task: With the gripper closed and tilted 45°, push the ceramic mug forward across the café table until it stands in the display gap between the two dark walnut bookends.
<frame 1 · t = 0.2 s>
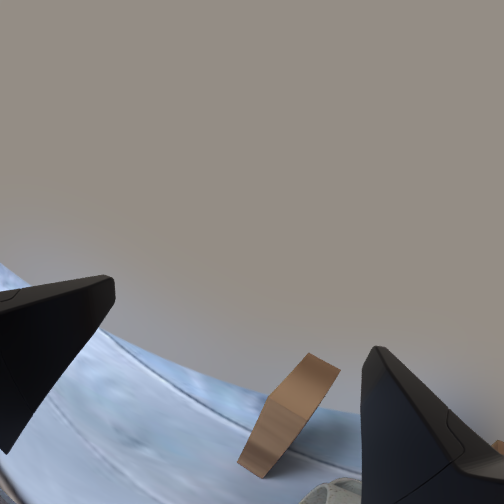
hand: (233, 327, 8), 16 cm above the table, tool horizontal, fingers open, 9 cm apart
walnut bookends: (349, 495, 14), on the table
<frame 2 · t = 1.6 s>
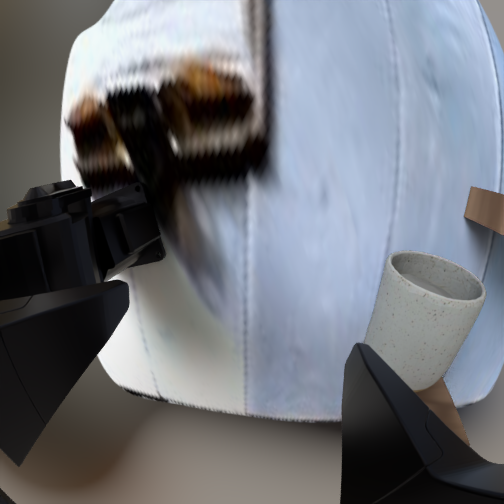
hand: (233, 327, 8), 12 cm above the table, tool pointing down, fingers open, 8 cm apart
walnut bookends: (454, 304, 19), on the table
ceramic mug: (419, 294, 19), on the table
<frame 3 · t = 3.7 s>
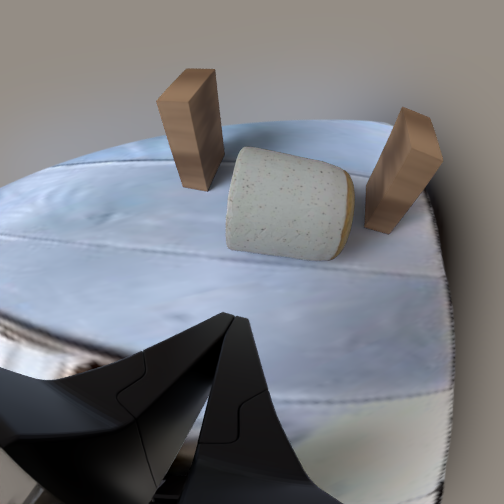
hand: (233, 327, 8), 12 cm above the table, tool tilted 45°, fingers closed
walnut bookends: (290, 186, 25), on the table
ceramic mug: (282, 218, 24), on the table
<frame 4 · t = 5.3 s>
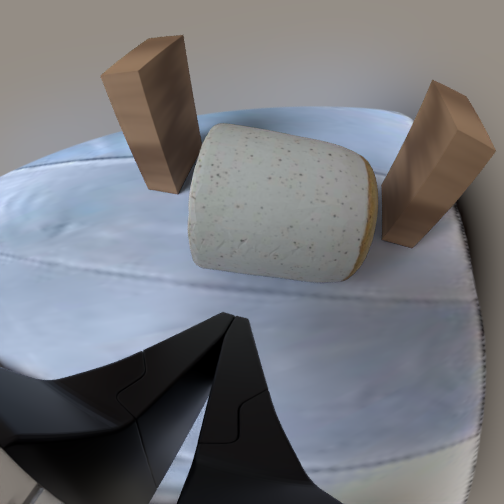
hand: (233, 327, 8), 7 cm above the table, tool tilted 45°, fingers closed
walnut bookends: (285, 186, 19), on the table
ceramic mug: (275, 222, 18), on the table
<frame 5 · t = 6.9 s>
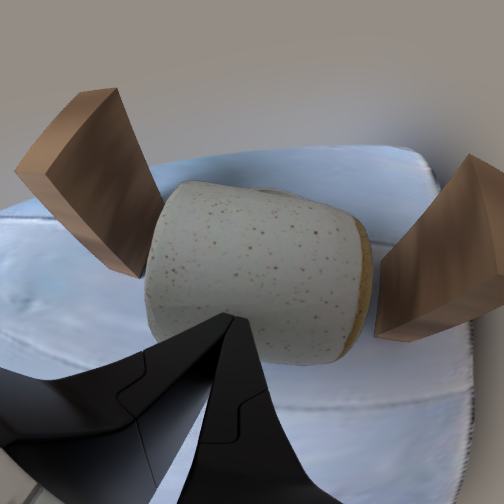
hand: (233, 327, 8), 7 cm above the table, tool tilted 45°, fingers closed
walnut bookends: (263, 270, 16), on the table
ceramic mug: (257, 278, 16), on the table, touching gripper
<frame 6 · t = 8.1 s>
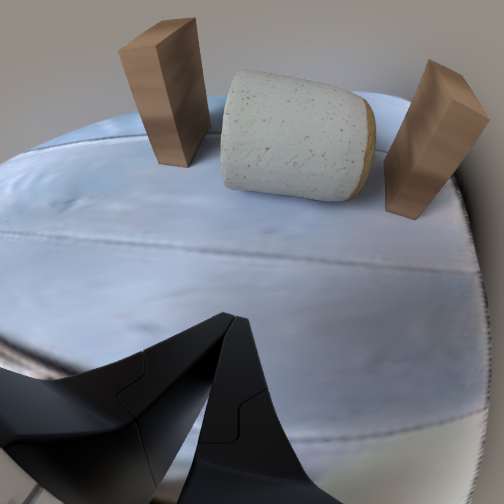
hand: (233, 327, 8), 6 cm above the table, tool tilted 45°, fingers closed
walnut bookends: (292, 160, 19), on the table
ceramic mug: (287, 163, 20), on the table
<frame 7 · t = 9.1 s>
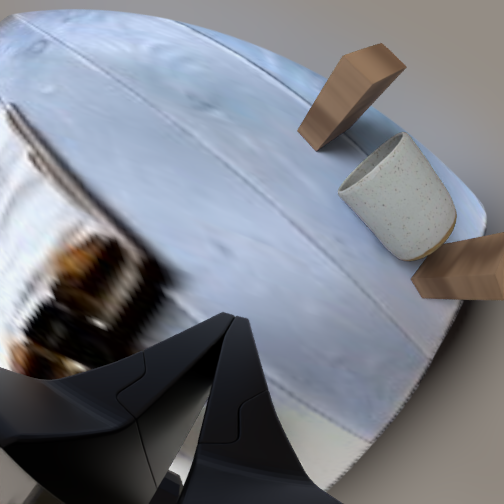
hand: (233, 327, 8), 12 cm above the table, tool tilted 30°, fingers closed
walnut bookends: (383, 200, 23), on the table
ceramic mug: (381, 198, 23), on the table
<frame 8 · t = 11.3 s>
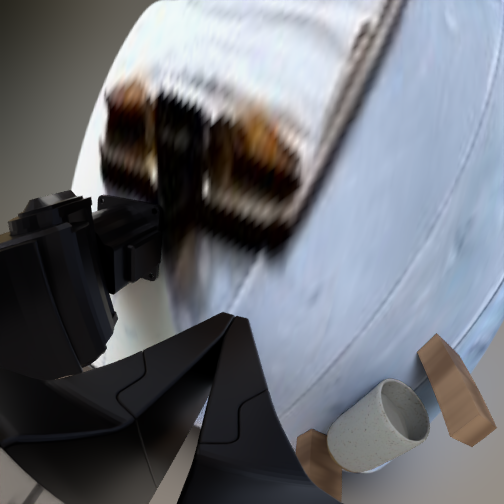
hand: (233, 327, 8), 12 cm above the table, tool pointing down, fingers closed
walnut bookends: (375, 405, 23), on the table
ceramic mug: (382, 403, 23), on the table
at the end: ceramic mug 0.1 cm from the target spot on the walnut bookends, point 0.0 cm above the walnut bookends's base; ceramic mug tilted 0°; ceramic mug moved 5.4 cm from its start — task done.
